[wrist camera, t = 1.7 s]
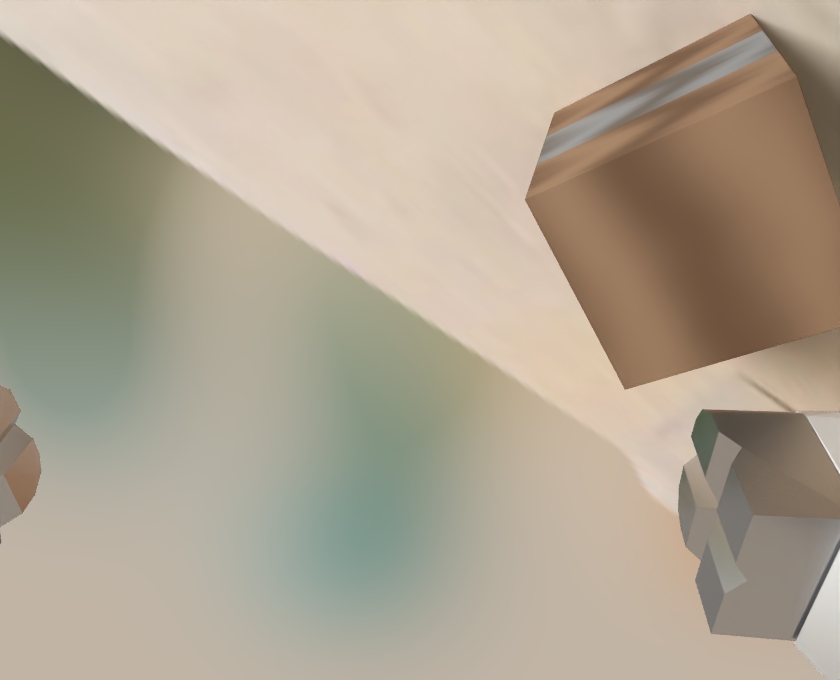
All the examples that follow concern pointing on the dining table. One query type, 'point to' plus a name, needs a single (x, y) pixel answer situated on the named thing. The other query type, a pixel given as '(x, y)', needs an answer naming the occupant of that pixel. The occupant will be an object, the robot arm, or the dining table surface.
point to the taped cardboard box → (693, 208)
